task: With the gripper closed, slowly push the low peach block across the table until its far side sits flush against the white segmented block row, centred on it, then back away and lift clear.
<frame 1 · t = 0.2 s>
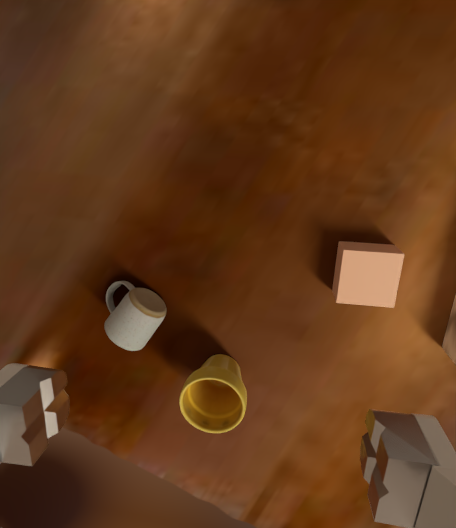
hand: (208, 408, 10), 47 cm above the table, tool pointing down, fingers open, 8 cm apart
plant pot: (221, 368, 65), on the table
ceramic mug: (138, 303, 64), on the table
peach block: (362, 267, 56), on the table
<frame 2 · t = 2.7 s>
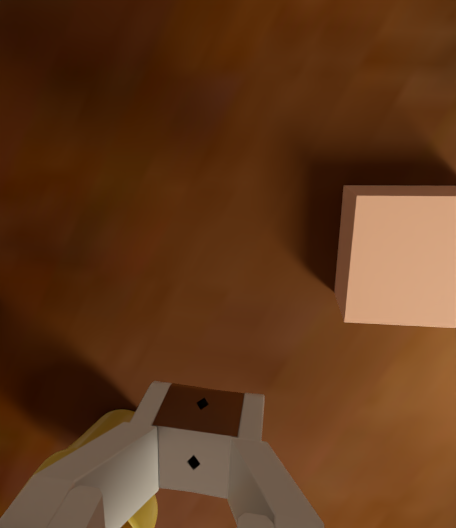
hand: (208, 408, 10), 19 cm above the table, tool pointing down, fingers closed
plant pot: (129, 434, 36), on the table
peach block: (396, 242, 26), on the table
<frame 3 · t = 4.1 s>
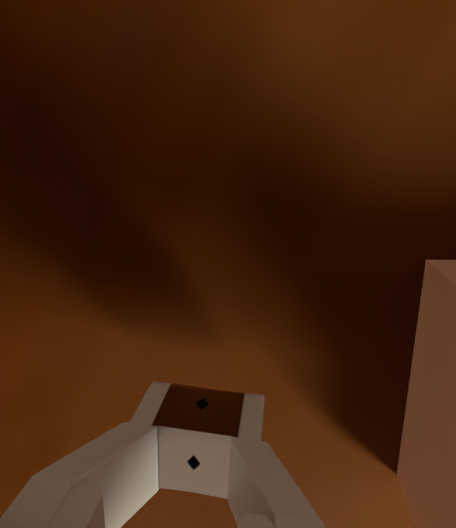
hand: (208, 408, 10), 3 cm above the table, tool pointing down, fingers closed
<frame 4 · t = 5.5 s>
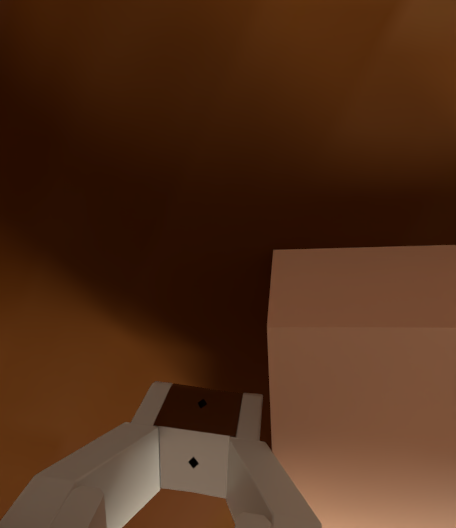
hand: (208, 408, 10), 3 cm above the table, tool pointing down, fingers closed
peach block: (402, 364, 12), on the table, touching gripper
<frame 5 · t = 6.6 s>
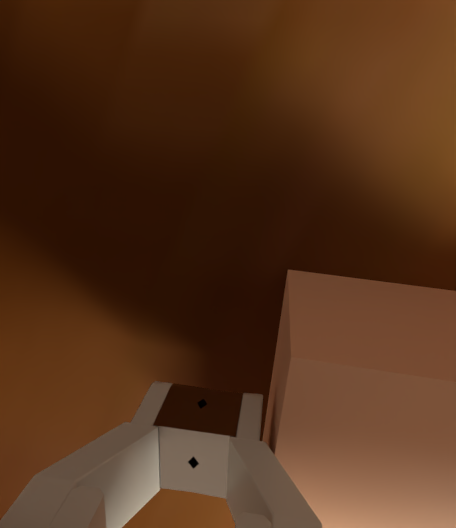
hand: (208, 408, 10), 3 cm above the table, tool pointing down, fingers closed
peach block: (391, 395, 12), on the table, touching gripper
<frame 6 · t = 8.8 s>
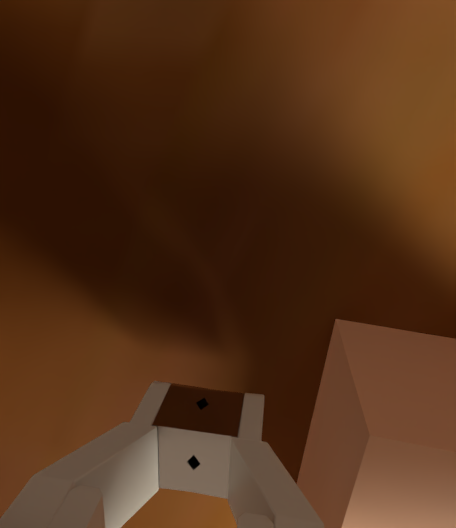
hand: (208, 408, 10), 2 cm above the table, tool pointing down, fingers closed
peach block: (430, 442, 12), on the table
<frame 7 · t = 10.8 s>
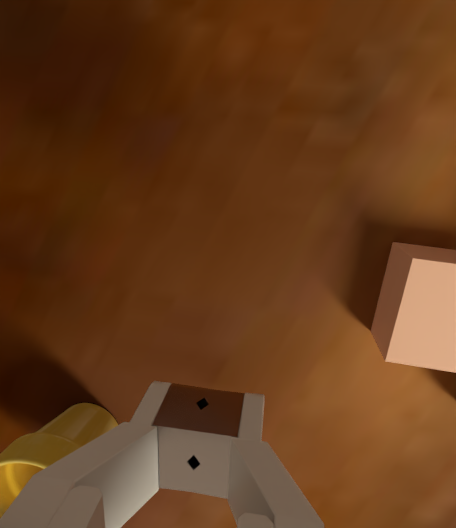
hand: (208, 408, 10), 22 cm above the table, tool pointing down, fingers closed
plant pot: (92, 426, 40), on the table
peach block: (430, 294, 30), on the table
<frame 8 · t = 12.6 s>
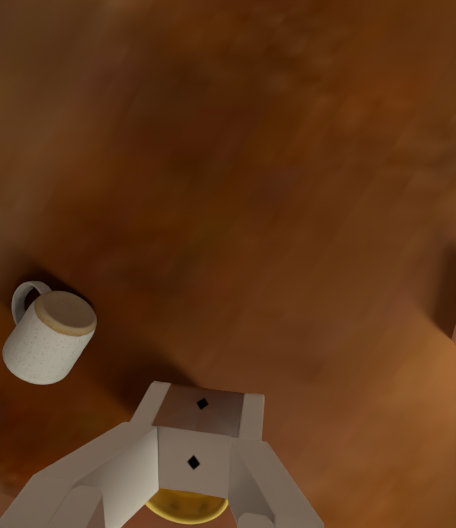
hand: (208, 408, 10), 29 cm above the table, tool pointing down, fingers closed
plant pot: (201, 418, 47), on the table
ceramic mug: (61, 313, 45), on the table
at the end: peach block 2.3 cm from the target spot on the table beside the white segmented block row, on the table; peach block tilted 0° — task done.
